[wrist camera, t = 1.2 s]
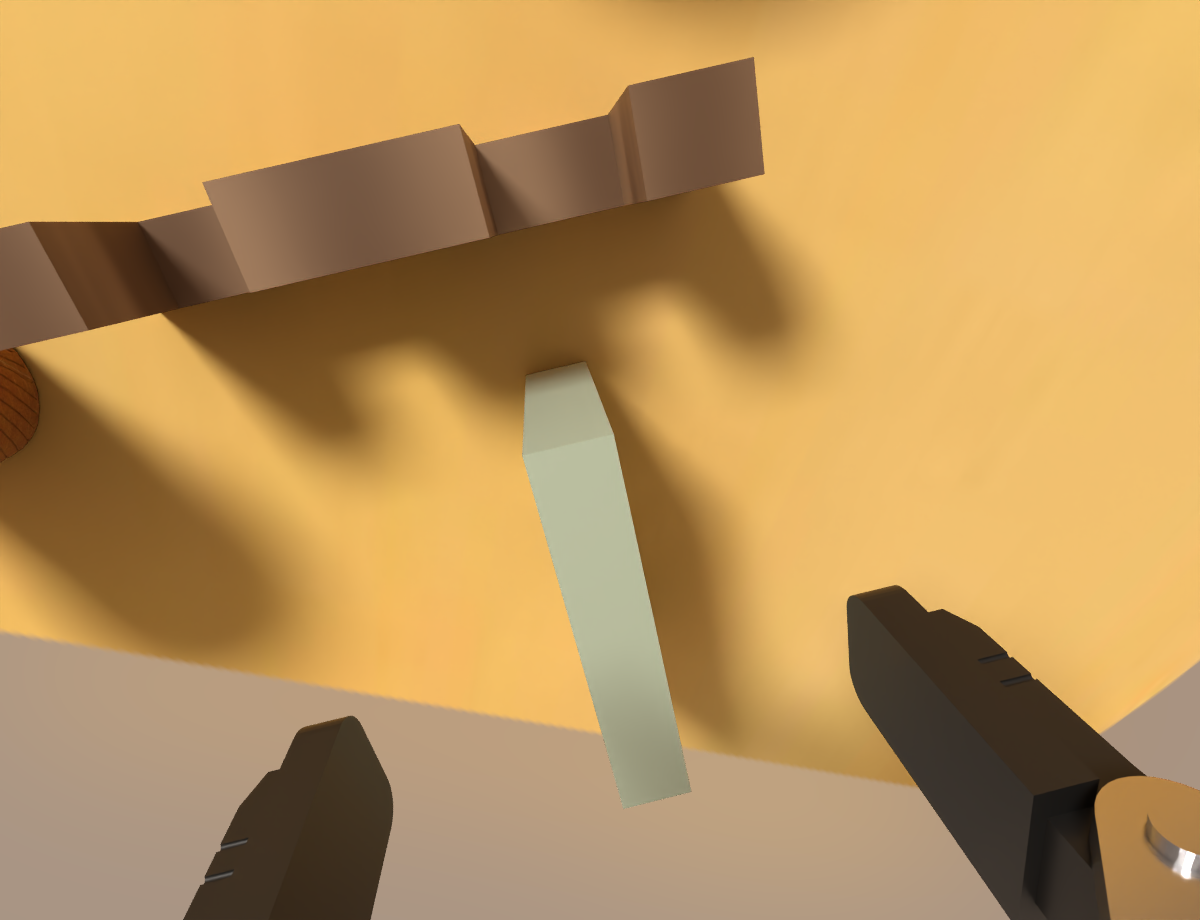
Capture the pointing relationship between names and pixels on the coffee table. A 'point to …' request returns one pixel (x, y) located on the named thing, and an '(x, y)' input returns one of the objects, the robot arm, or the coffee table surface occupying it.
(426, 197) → the rail
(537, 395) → the cross piece
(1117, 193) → the coffee table surface
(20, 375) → the disposable coffee cup
